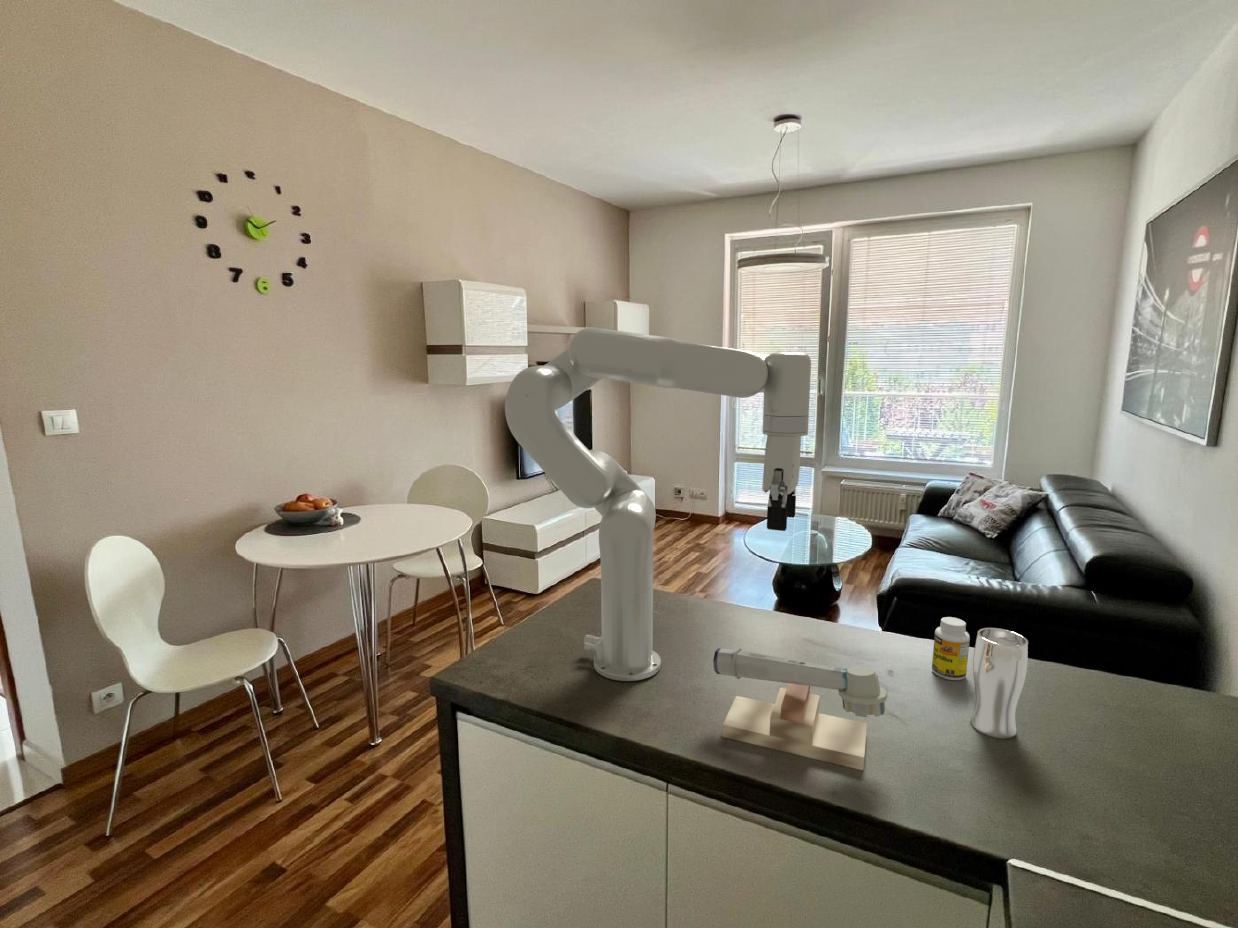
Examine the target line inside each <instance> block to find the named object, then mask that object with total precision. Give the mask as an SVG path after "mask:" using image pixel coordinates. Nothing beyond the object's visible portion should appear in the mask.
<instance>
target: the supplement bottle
mask: <svg viewBox="0 0 1238 928" xmlns="http://www.w3.org/2000/svg"><path fill="white" fill-rule="evenodd" d="M966 627H967V623H966V622H965V621H964V620H962V619H960V618H957V617H954V616H953V617H952V616H946V617H945V616H944V617H942V618H941V619H940V626H938V627H936V629H935V631H934V640H933V650H932V651H933V652H932V662H931V670H932V672H933V673H934V674H935V675H936V676H938V677H940V678H942V679H944V680H950V681H961V680H962V681H963V679H965V678H966V676H967V671H968V670H967V669H968V660H969V651H970V650H969V649H970V640H971V638H970V637H971V636H970V634H969V632H968V631H967V630H966Z"/></svg>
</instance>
